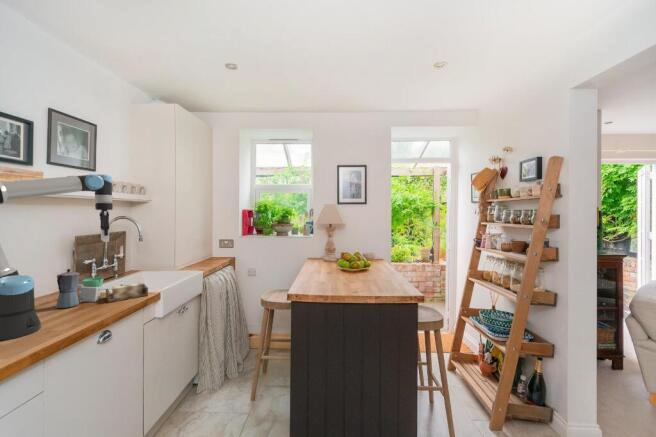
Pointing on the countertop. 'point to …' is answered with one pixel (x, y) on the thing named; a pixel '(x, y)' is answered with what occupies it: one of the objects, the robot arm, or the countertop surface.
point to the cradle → (110, 296)
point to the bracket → (89, 293)
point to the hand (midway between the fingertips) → (105, 240)
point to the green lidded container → (93, 282)
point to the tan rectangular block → (127, 290)
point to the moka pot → (67, 289)
